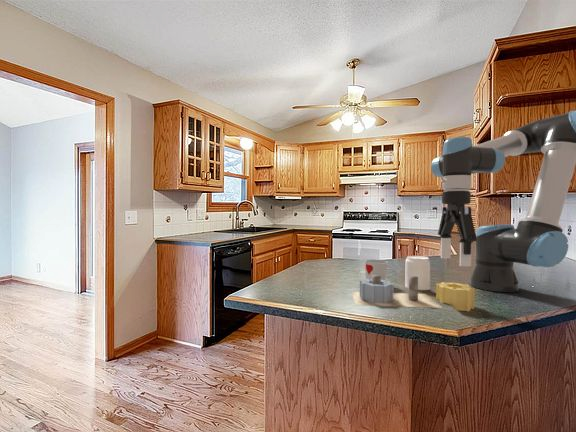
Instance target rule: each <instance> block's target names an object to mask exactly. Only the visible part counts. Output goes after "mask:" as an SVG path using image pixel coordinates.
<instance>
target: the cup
mask: <svg viewBox="0 0 576 432" xmlns="http://www.w3.org/2000/svg"><path fill="white" fill-rule="evenodd" d="M388 264H389V261H387V260H383V259H365V260H364V271H365V280H366V279H372V275H380V276H381V280H385V281H387V280H386V279H387V275H388Z"/></svg>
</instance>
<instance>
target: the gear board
mask: <svg viewBox="0 0 576 432" xmlns="http://www.w3.org/2000/svg"><path fill="white" fill-rule="evenodd" d="M372 284H381V276H380V275H372ZM350 293H351V296H352V298H353V301H354V305H355V306H371V307H372V306H374V307H375V306H378V307H405V308H409V307H411V308H433V309H434V308H437V309H439V308H440V309H443V306H441V304H439V303H438V302H436V301H435V300H434V299H433V298H432V297H431V296H429V295H428V294H427V293H419V290H418V277H417V276H409V288H408V293H406V292H405V293H403V292H393V301H389V302H387V303H371V302H369V301H366V300H361V297H360V291H350Z"/></svg>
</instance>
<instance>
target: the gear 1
mask: <svg viewBox="0 0 576 432" xmlns="http://www.w3.org/2000/svg"><path fill="white" fill-rule="evenodd" d="M394 286H395V285H394V283H392V281H390V280H386V281H385V280H381V284H372V279H366V278H365V279H364V280H362V279H361V280H359V292H360V297H361V300H366V301H369V302H371V303H387V302H389V301H393V293H394Z"/></svg>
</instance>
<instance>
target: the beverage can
mask: <svg viewBox="0 0 576 432" xmlns="http://www.w3.org/2000/svg"><path fill="white" fill-rule="evenodd" d="M404 263H405V266H404V268H405V270H404V272H405V273H404V274H405V275H404V276H405V277H404V278H405V280H404V286H405V288H407V289H409V276H417V277H418V291H427V290H429V291H430V290H431V260H430V257H427V256H423V255H422V256H420V255H407V256H406V259H405V262H404Z"/></svg>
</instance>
